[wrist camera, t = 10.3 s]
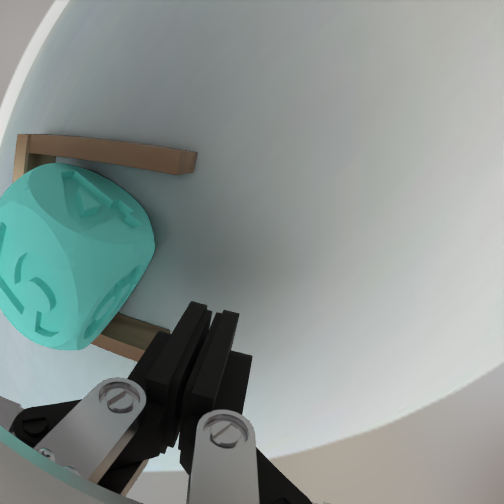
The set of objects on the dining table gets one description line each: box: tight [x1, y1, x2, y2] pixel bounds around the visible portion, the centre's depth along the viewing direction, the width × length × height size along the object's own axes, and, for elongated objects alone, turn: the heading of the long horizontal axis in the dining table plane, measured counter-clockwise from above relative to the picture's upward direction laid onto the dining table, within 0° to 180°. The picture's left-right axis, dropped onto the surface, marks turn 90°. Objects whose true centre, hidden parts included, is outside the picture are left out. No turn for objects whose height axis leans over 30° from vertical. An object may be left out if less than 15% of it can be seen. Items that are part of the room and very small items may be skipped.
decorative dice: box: [0, 163, 155, 350], centre depth 15 cm, size 8×8×8 cm
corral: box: [13, 134, 197, 362], centre depth 18 cm, size 13×12×3 cm
